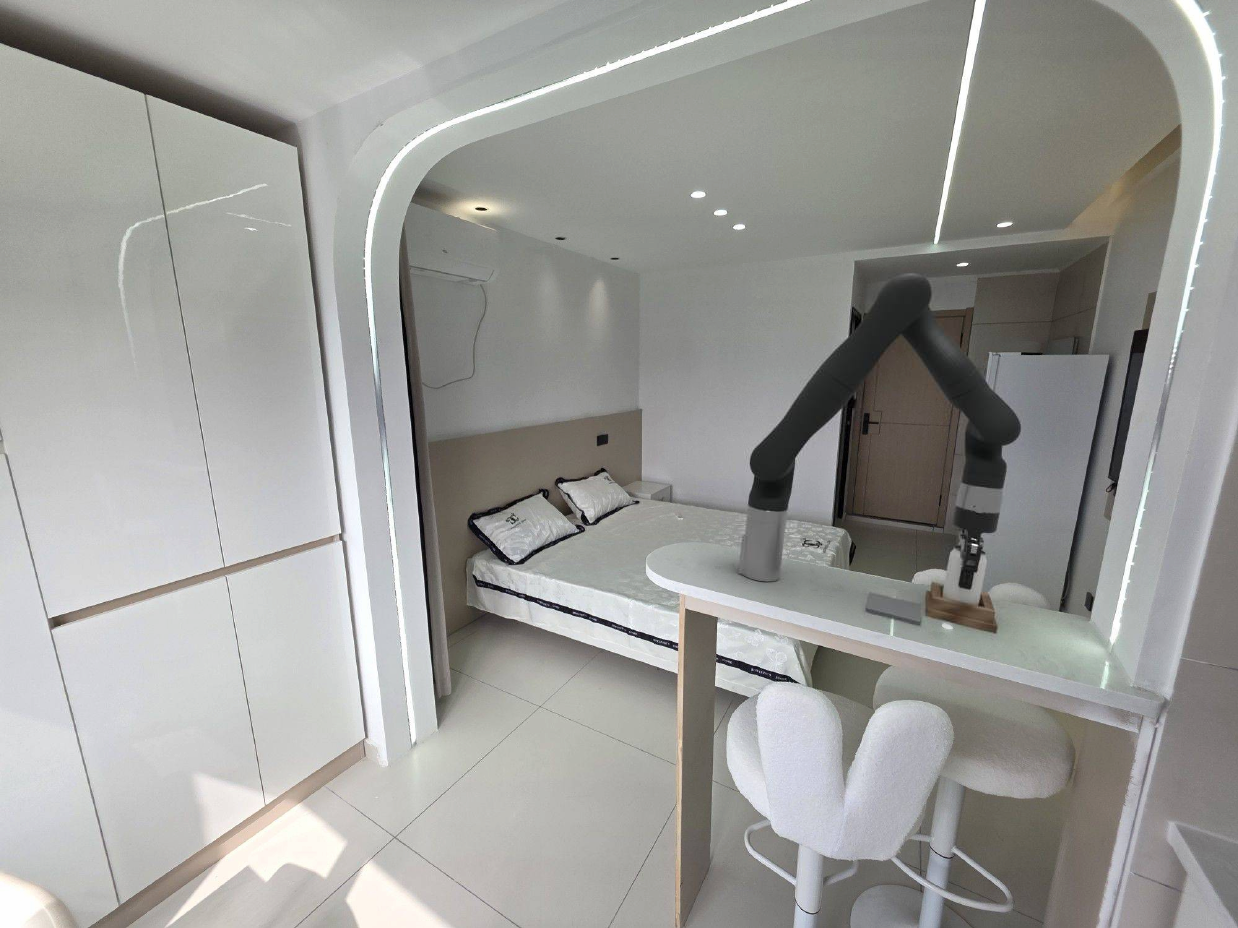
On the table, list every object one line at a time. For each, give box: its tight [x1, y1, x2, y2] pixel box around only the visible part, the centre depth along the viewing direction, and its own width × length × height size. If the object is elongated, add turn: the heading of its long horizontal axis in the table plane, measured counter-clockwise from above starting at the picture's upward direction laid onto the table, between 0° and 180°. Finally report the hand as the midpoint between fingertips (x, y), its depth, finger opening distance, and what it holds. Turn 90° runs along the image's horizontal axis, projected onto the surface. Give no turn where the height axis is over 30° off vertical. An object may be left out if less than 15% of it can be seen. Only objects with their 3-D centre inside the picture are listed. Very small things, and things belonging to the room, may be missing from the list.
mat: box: [865, 591, 922, 627], centre depth 106 cm, size 10×10×1 cm
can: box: [942, 544, 988, 606], centre depth 105 cm, size 6×6×12 cm
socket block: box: [924, 581, 998, 634], centre depth 106 cm, size 12×12×4 cm
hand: (963, 582), depth 105 cm, fingers closed on can, 6 cm apart
